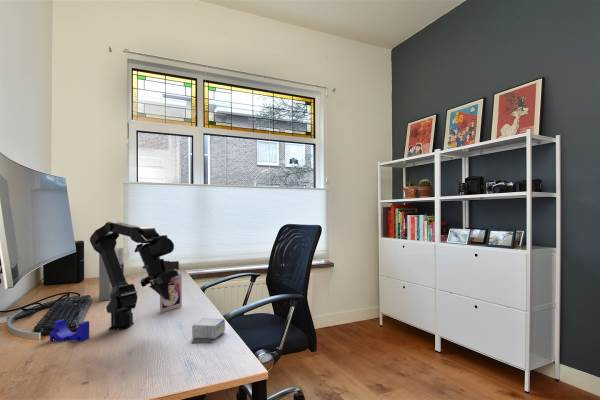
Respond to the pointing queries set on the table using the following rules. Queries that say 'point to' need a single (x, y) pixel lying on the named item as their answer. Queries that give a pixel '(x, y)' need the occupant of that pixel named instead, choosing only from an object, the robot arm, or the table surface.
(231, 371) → the table surface
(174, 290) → the greeting card
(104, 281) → the tall grey pillar
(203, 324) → the medicine box
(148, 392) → the table surface
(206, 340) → the pad
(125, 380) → the table surface
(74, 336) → the blue notched block
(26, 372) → the table surface
